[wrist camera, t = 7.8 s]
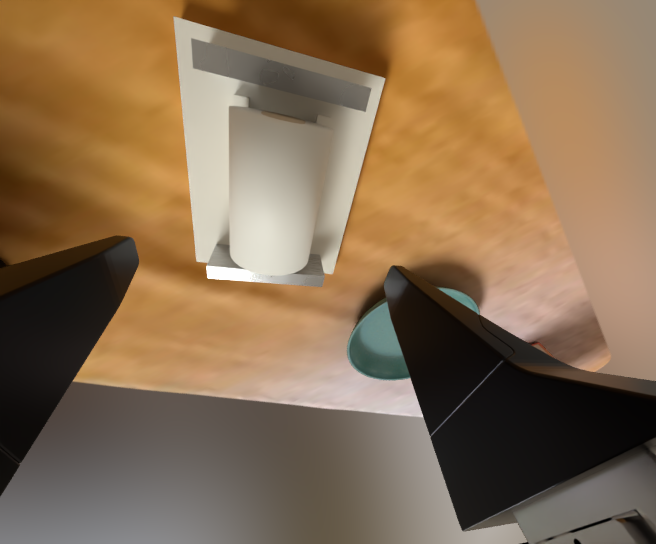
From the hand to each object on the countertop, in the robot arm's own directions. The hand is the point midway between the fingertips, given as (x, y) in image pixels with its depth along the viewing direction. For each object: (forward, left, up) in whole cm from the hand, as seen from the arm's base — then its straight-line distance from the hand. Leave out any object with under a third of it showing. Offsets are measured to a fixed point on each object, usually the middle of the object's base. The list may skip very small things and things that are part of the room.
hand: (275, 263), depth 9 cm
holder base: (0, 0, -11) cm, 11 cm away
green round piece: (-14, -16, -11) cm, 24 cm away
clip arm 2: (+6, 0, -10) cm, 11 cm away
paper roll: (0, 0, -10) cm, 10 cm away
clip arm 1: (-6, 0, -10) cm, 11 cm away
